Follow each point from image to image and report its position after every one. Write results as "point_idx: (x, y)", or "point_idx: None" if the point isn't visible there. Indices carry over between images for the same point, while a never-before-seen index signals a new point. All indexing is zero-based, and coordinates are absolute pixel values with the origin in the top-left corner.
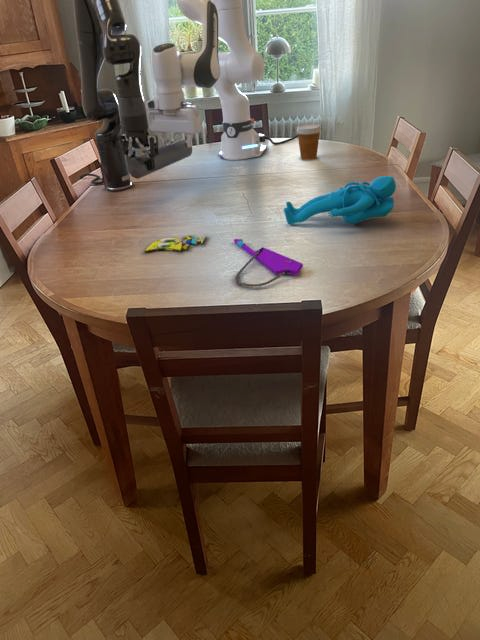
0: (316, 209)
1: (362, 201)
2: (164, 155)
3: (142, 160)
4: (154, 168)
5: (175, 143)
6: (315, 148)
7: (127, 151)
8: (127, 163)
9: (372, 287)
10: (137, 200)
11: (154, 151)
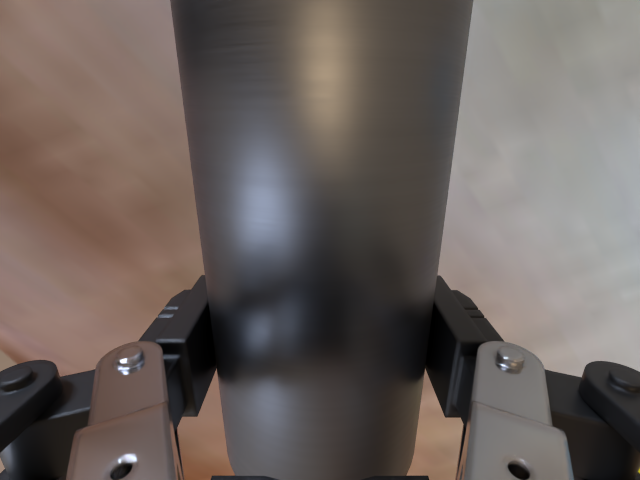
0: None
1: None
2: (469, 13)
3: (402, 440)
4: (439, 281)
5: None
6: None
7: (65, 473)
8: (231, 462)
9: None
10: (172, 146)
11: (370, 144)
